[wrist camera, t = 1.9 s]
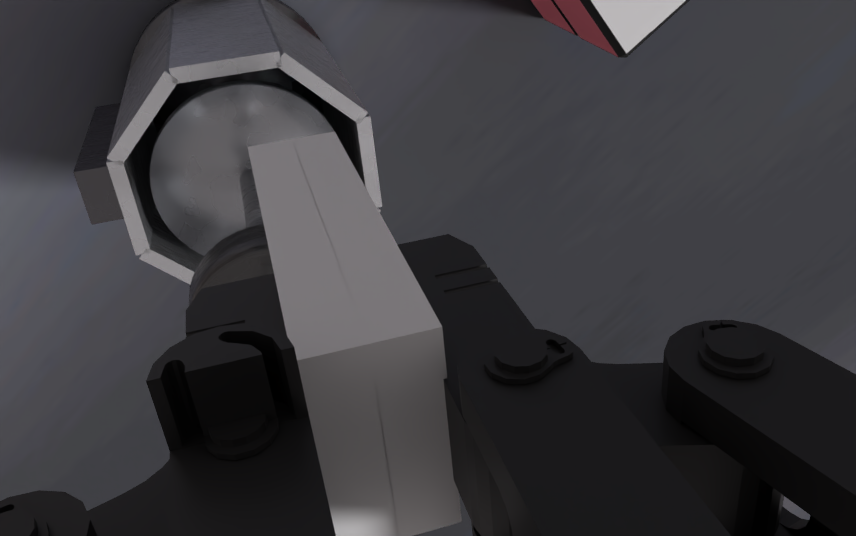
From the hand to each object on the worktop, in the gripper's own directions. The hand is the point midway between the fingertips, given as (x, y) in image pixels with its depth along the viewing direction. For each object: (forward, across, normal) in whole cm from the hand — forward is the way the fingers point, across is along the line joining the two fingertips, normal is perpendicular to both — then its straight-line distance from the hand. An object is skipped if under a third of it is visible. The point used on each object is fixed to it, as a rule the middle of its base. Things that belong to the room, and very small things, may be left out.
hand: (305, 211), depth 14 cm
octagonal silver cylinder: (+32, -1, -6) cm, 32 cm away
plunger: (+19, -1, -6) cm, 20 cm away
